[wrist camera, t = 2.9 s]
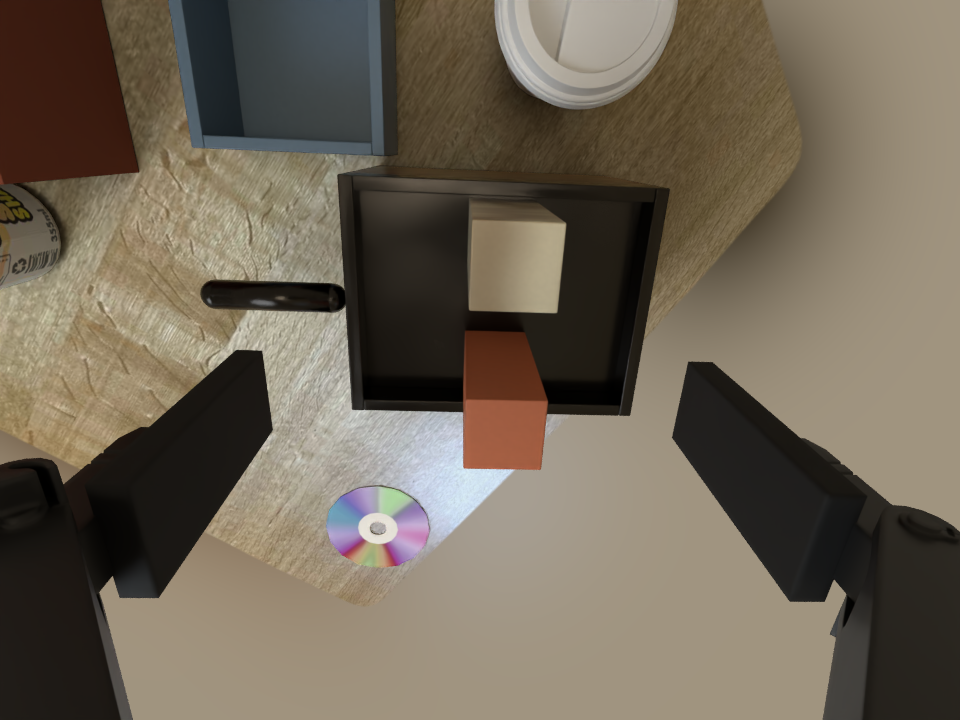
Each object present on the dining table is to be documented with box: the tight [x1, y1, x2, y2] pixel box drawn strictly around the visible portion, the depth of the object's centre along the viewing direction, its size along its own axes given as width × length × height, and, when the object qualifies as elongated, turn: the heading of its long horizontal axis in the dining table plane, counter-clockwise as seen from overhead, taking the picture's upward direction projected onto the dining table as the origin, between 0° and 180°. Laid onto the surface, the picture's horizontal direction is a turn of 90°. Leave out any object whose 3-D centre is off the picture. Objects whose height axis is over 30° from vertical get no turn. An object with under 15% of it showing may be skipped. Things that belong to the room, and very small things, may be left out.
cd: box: [326, 486, 429, 568], centre depth 55 cm, size 11×11×1 cm
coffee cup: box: [495, 0, 678, 109], centre depth 32 cm, size 10×10×15 cm
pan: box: [200, 166, 670, 416], centre depth 38 cm, size 28×15×15 cm, turn 88°
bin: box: [168, 0, 398, 156], centre depth 35 cm, size 13×13×8 cm
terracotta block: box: [463, 331, 548, 470], centre depth 30 cm, size 4×4×10 cm
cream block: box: [467, 198, 566, 313], centre depth 27 cm, size 4×4×10 cm
